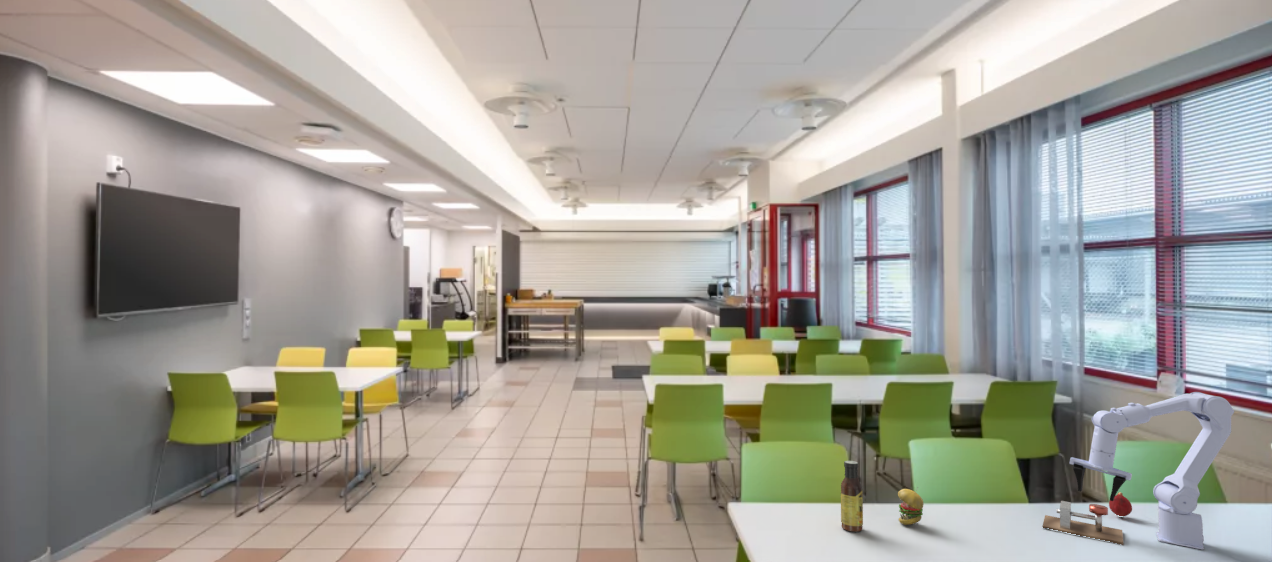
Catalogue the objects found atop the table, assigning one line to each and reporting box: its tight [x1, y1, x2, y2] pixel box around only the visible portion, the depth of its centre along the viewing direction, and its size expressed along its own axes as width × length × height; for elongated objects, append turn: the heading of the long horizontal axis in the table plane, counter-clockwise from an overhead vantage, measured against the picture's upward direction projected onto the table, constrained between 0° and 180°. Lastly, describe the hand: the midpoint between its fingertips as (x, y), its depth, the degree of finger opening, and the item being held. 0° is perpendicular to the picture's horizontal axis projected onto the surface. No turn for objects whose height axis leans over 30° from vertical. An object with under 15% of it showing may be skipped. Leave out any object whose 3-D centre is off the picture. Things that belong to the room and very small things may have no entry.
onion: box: [1108, 491, 1133, 517], centre depth 188 cm, size 6×6×8 cm
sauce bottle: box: [840, 460, 864, 533], centre depth 177 cm, size 6×6×20 cm
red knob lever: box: [1056, 503, 1109, 531], centre depth 177 cm, size 12×4×7 cm, turn 52°
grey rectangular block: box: [1059, 500, 1072, 529], centre depth 179 cm, size 2×8×6 cm, turn 142°
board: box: [1041, 514, 1124, 546], centre depth 177 cm, size 19×12×1 cm, turn 52°
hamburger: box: [897, 486, 924, 526], centre depth 180 cm, size 8×7×12 cm
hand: (1095, 495), depth 176 cm, fingers open, 7 cm apart
